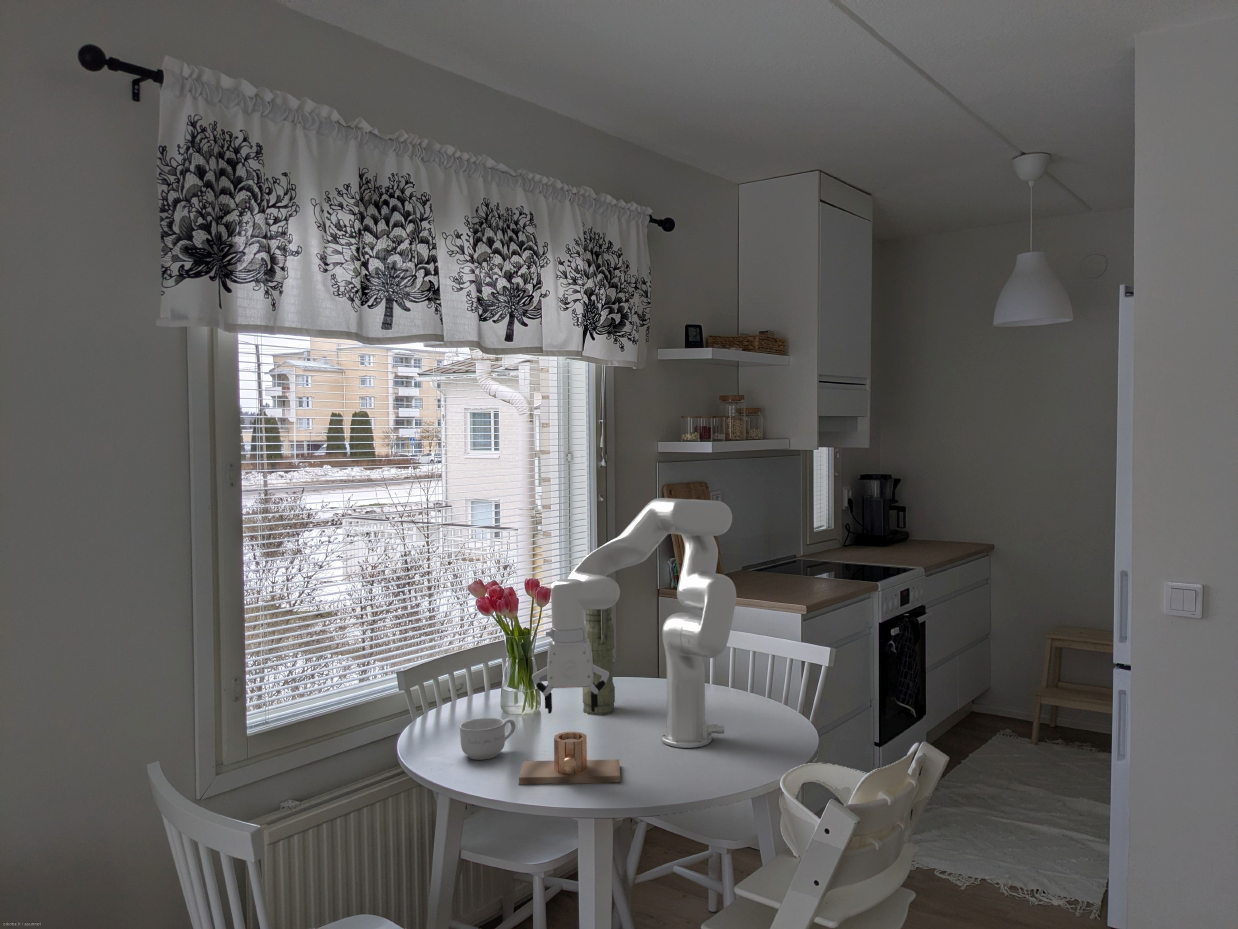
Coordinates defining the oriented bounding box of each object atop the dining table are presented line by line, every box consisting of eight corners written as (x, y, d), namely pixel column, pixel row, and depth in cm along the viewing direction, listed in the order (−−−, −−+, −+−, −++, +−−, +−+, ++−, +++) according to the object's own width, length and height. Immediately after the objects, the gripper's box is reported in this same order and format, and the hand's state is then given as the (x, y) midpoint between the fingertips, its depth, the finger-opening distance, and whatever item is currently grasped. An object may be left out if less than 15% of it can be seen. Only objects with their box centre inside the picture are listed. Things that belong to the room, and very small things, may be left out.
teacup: (465, 766, 198) (465, 732, 198) (455, 752, 208) (454, 719, 208) (523, 757, 204) (523, 724, 204) (510, 743, 214) (510, 711, 214)
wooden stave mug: (587, 762, 196) (586, 731, 196) (586, 780, 185) (585, 748, 185) (555, 762, 196) (555, 732, 196) (552, 781, 185) (552, 748, 185)
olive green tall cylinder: (604, 703, 248) (603, 581, 247) (622, 714, 237) (620, 587, 237) (575, 707, 244) (574, 583, 244) (592, 718, 233) (591, 589, 233)
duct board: (619, 766, 198) (618, 733, 198) (620, 782, 188) (619, 748, 188) (523, 767, 197) (522, 735, 197) (518, 784, 187) (518, 750, 187)
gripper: (528, 640, 188) (531, 717, 189) (608, 637, 189) (610, 715, 189) (531, 632, 196) (534, 707, 196) (607, 630, 196) (610, 704, 197)
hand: (571, 711), depth 193 cm, fingers open, 9 cm apart
